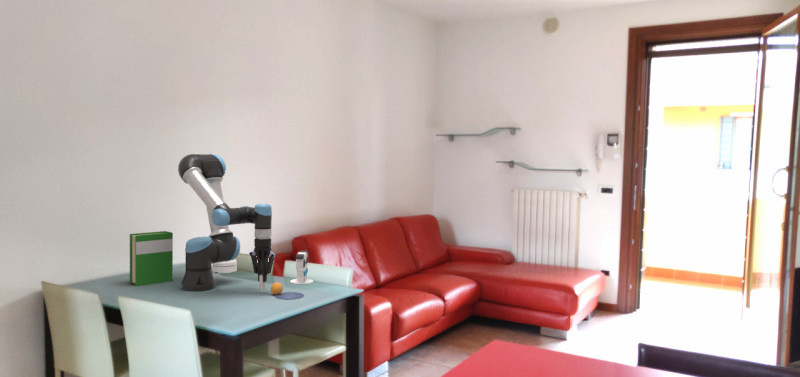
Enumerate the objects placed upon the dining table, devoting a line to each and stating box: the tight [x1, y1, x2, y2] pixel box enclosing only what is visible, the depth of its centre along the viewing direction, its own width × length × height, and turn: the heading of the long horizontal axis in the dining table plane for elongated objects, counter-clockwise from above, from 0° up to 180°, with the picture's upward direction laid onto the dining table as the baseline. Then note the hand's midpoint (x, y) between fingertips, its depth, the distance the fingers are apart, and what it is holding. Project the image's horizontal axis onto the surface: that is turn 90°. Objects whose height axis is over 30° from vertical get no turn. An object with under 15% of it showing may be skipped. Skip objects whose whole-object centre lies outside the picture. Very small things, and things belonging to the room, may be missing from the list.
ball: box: [270, 282, 284, 296], centre depth 264 cm, size 6×6×6 cm
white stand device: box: [289, 250, 314, 285], centre depth 291 cm, size 12×11×15 cm
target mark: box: [274, 291, 305, 300], centre depth 262 cm, size 13×13×1 cm
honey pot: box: [212, 257, 238, 274], centre depth 313 cm, size 13×13×18 cm
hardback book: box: [129, 230, 174, 287], centre depth 281 cm, size 18×7×24 cm, turn 137°
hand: (262, 288), depth 266 cm, fingers closed
